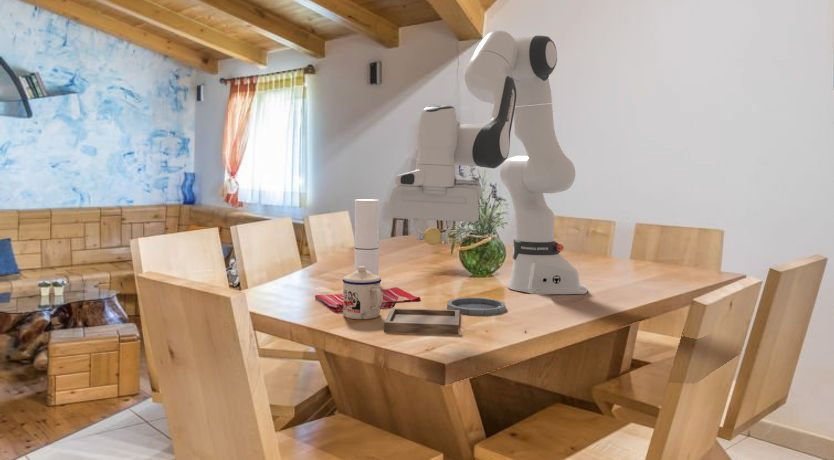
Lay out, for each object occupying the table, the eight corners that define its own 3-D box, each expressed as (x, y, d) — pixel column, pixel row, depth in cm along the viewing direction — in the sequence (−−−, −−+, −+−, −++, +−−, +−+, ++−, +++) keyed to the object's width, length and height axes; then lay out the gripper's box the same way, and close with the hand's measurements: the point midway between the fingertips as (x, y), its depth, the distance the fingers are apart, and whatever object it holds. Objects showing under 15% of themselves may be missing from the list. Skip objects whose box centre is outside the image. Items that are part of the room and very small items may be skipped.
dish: (503, 306, 166) (503, 298, 166) (506, 320, 152) (506, 310, 152) (448, 305, 167) (448, 296, 167) (446, 318, 153) (446, 308, 153)
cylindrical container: (380, 282, 198) (380, 199, 195) (376, 286, 191) (376, 200, 188) (356, 281, 199) (357, 199, 196) (352, 285, 192) (352, 200, 189)
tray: (459, 318, 153) (459, 310, 153) (458, 334, 139) (458, 324, 139) (391, 316, 154) (391, 308, 154) (383, 331, 140) (384, 322, 140)
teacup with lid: (334, 314, 155) (334, 266, 154) (365, 309, 161) (365, 262, 160) (365, 324, 146) (365, 273, 145) (396, 318, 152) (397, 269, 151)
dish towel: (423, 307, 167) (423, 297, 167) (334, 315, 157) (334, 304, 157) (396, 294, 182) (396, 285, 182) (314, 301, 172) (314, 291, 172)
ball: (441, 244, 148) (442, 227, 148) (440, 246, 144) (441, 228, 144) (423, 243, 149) (424, 226, 148) (422, 245, 145) (423, 227, 144)
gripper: (481, 180, 148) (478, 241, 149) (391, 176, 149) (389, 236, 150) (482, 180, 141) (479, 244, 143) (388, 176, 143) (385, 239, 144)
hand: (432, 240), depth 146 cm, fingers closed on ball, 4 cm apart
